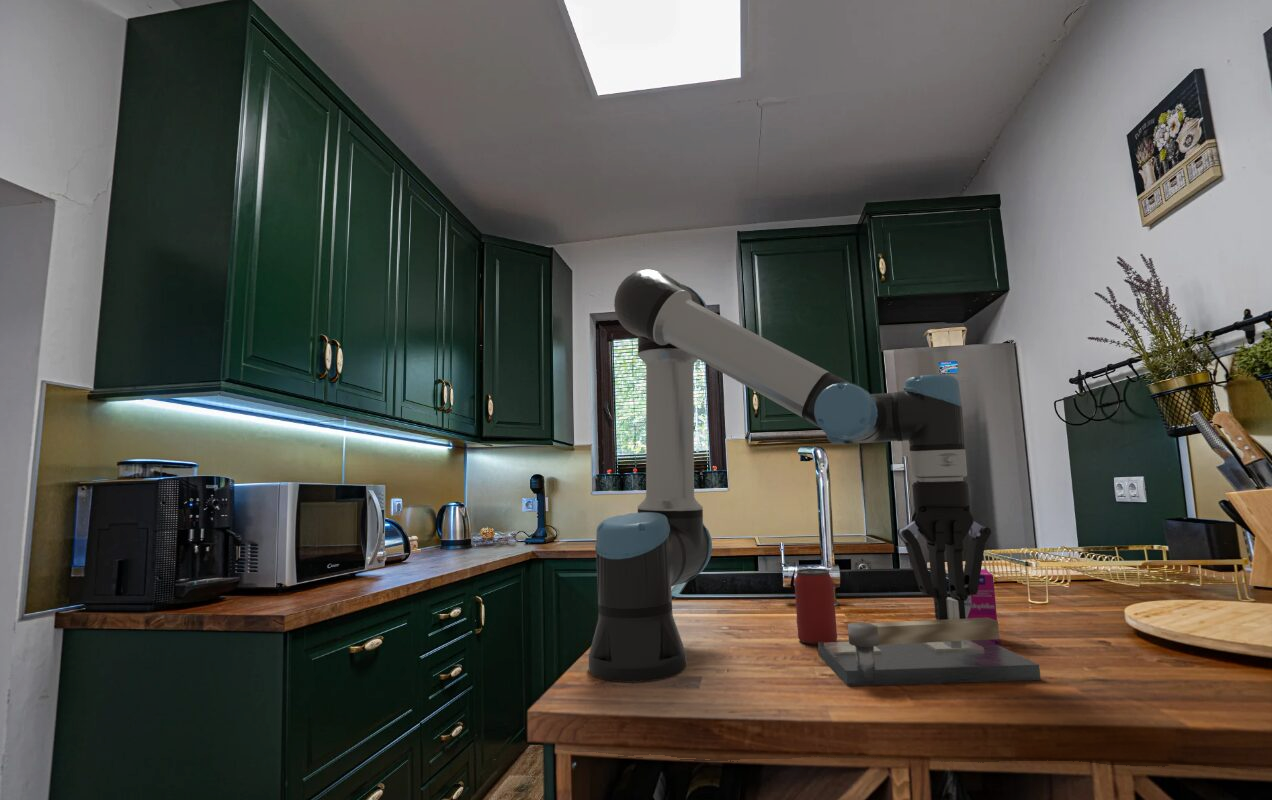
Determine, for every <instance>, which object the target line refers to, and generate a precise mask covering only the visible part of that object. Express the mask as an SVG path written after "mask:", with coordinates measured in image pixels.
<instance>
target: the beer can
mask: <svg viewBox="0 0 1272 800" xmlns="http://www.w3.org/2000/svg"><path fill="white" fill-rule="evenodd" d="M834 590H835V589H834V582H833V578H832V577H831V574H830V570H829V569H824V568H801V569H798V570H796V576H795V580H794V594H795V596H794V597H795V609H796V610H795V611H796V625H797V637H798V639H799V641H800V642H802V643H804V644H806V645H812V646H818V642H837V639H838V632H837V631H838V629H837V617H836V603H835V591H834Z"/></svg>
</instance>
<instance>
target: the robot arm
mask: <svg viewBox="0 0 1272 800" xmlns="http://www.w3.org/2000/svg"><path fill="white" fill-rule="evenodd" d="M613 302H614V303H613V307H614V312H615V315H616V318H617V320H618V322H619V323H620V325H621V326H622V327H623V328H624V329H625V330H626V331H628V333H630V334H632V335H634V336H636V337H637V357H638V358H639V359H640V360H642V362H643V363H644V364H645V372H646V373H645V377H646V378H645V394H646V395H645V401H646V402H645V404H646V405H645V408H646V409H645V419H646V420H645V425H646V426H645V429H646V431H645V437H646V438H645V444H646V445H645V446H646V447H645V454H646V455H645V458H646V459H645V489H646V490H645V493H646V494H645V498H644V499H643V500H642V502H640V504H639V505H637V512H633V513H626V514H624V515H623V514H621V515H615V516H611V517H608V518H606V519H604V520H602V521H601V522H600V523H599V524H598V526H597V528H596V534H595V535H596V541H595V544H594V545H595V547H594V549H595V552H596V553H595V555H596V576H597V577H596V579H597V582H596V583H597V602H598V603H597V604H598V618H597V619H598V620H597V623H596V627H595V632H594V634H593V637H592V640H591V641H592V643H591V645H590V649H589V653H588V672H589V673H590V675H592V676H594V677H596V678H599V679H603V680H607V681H614V682H615V681H616V682H648V681H655V680H661V679H665V678H669V677H670V678H671V677H673V676H676V675H678V674H680V673H682V672H683V671H685V669H686V668H687V657H686V656H687V655H686V649H685V647H684V643H683V642H682V638H681V635H680V632H679V630H678V627H677V624H676V621H675V618H674V614H673V594H672V588H673V587H674V586H677V585H683V584H685V583H687V582H690V581H691V580H694V579H695V578H696V577H697V576H699V574H701V573H702V572H703V571H704V569H705V568H706V567H707V565H708V563H709V562H710V559H711V557H712V552H713V543H712V542H713V541H712V536H711V534H710V531H709V529H708V528H707V527H706V526H705V524H704V514H703V513H704V512H703V511H704V509H703V507H704V506H703V505H701V504H700V503H699V501H698V500H696V497H695V435H694V433H695V428H694V425H695V423H694V421H695V419H694V407H695V406H694V365H695V363H696V362H697V361H698V360H700V361H701V362H702V363H704V364H707V365H708V366H710V367H711V368H713V369H715V370H716V371H719V372H720V373H721V374H725V375H726V376H728V377H729V378H731V379H733V380H734V381H736V382H738V383H740V384H742V385H744V386H745V387H748V389H751V390H753V391H755V392H756V393H758V394H760V395H762V396H764V397H765V398H767V399H769V400H770V401H773V402H774V403H776V404H778V405H779V406H780V407H783V408H785V409H786V410H788V411H790V412H792V413H793V414H795V415H797V416H799V417H801V418H802V419H805V420H806V421H807V422H809V423H811V424H813V426H816V427H818V428H820V429H821V430H822V432H823V433H825V436H826V437H827V440H828V441H829V442H830V443H831V444H834V445H835V444H836V445H839V444H840V445H841V444H843V445H850V446H851V445H855V444H869V443H871V444H873V443H886V442H887V443H888V442H903V441H908V444H909V458H910V474H911V475H910V476H911V477H912V478H913V479H915V480H916V481H914V482H913V484H912V485H911V488H912V498H913V500H912V501H913V509H914V512H913V515H912V516H911V522H910V523H909V524H908V525H906V526H905V527H903V528H902V527H899V528H898V529H897V530H896V531H897V532H896V534H897V535H898V537H899V538H900V539H901V541H902V543H903V544H904V545H905V548H906V549H905V550H906V552H907V555H908V558H909V561H910V563H911V564H910V565H911V568H912V571H913V573H914V577H915V579H916V583H917V586H918V589H919V591H920V593H922V594H925V595H927V596H929V597H932V598H933V602H934V605H933V606H934V616H935V620H946V619H966V616H965V604H964V601H966V600H967V599H968V596H970V595H975V594H977V592H978V586H979V580H980V573H981V569H982V566H983V560H984V559H983V558H984V552H985V546H986V543H987V541H988V539H989V538H990V536H991V535H992V529H991V528H990V527H988V526H983V525H982V524H979V523H978V522H976V521H975V518H974V515H973V514H972V512H971V510H970V507H971V506H970V505H971V500H970V489H969V483H968V482H967V481H966V480H964V478H965V477H966V478H967V476H968V468H967V458H966V457H967V456H966V454H967V453H966V447H965V445H966V444H965V431H964V415H963V406H962V405H963V404H962V400H961V392H960V383H959V381H958V379H957V378H956V377H955V376H954V375H951V374H944V373H941V374H937V373H936V374H925V375H919V376H912V377H909V378H907V379H906V380H905V382H904V386H903V387H904V388H903V390H900V391H897V392H895V391H894V392H883V393H872V394H871V393H870V392H869V391H868V390H866V389H865V388H863V387H861V386H859V385H857V384H856V383H851V382H849V381H848V380H846V379H844V378H842V377H840V376H837V375H835V374H833V373H831V372H830V371H828V370H826V369H824V368H823V367H820V366H819V365H816V363H813V362H811V361H809V360H808V359H805V358H803V357H801V356H800V355H798V354H795V353H794V352H792V351H790V350H788V349H786V348H784V347H782V346H780V345H778V344H776V343H774V342H773V341H771V340H768V339H766V338H764V337H763V336H760V335H758V334H756V332H755V333H754V332H753V331H751V330H749V329H748V328H746V327H743V326H741V325H739V324H737V323H735V322H733V321H732V320H730V319H728V318H725V317H724V316H722V315H720V314H718V313H716V312H714V311H712V310H710V309H709V308H708V305H707V304H706V302H705V300H704V299H703V298H702V296H700V294H699V293H698V292H696V291H695V290H694V289H692V288H691V287H689V286H687V285H685V284H683V283H680V282H679V281H677V280H675V279H674V278H672V277H671V276H669V275H667V274H666V273H664V272H661V271H659V270H654V269H642V270H637V271H635V272H632V273H631V274H629V275H628V276H626V277H625V278H624V279H623V280H622V281H621V282H620V284H619V285H618V288H617V290H616V292H615V296H614V301H613ZM918 532H919V533H920V535H921V536H922V537H923V539H924V540H925V541H926V547H927V550H928V559H929V570H930V573H929V570H928V567H927V563H926V560H925V557H924V554H923V550H922V548H921V545H920V543H919V541H918V538H919V533H918ZM967 534H968V535H969V539H968V544H967V551H966V556H965V563H964V562H963V561H964V559H963V550H964V543H963V541H964V539H965V538H966V535H967ZM945 554H946V557H945ZM945 559H946V561H945ZM946 565H947V567H946ZM946 568H947V571H946ZM963 569H964V572H963ZM946 572H947V573H946ZM947 577H948V578H947ZM947 579H948V582H947ZM947 583H948V585H947ZM948 591H949V595H950V597H949V596H948ZM944 644H945V645H947V646H949V647H951V648H962V643H961V641H949V642H944Z"/></svg>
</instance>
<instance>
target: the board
mask: <svg viewBox="0 0 1272 800" xmlns="http://www.w3.org/2000/svg"><path fill="white" fill-rule="evenodd" d="M961 643H962V648H951V647H949V646H947V645H945V644H944V642H928V643H908V644H888V645H878V646H874V659H875V670H873V674H874V686H891V685H892V686H895V685H897V686H898V685H925V684H927V685H929V684H953V683H954V684H958V683H961V684H962V683H989V682H994V681H996V682H1021V681H1022V682H1023V681H1024V682H1025V681H1028V682H1029V681H1041V680H1042V679H1041V671H1040V664H1038V663H1036V662H1034V661H1032V660H1031V659H1028V658H1026V657H1024V656H1021V655H1020V654H1018V653H1016V652H1014V651H1011V650H1010V649H1007V648H1005V647H1003V646H1001V645H997V644H995V643H993V642H991V641H989V640H969V641H961ZM817 648H818V649H817V650H818V656H819V657H820V658H821V659H822V661H824V662H825V664H826V665H828V667H829V668H830V669H831V670H832V671H833V673H835V674H836V676H838V678H839V679H840V680H841V681H842V682H843V683H844V684H845V686H847V687H859V686H861V687H863V686H865V683H864V670H860V669H857V662H856V649H855V646H853V645H851V644H849V640H847V641H841V640H840V641H835V642H818V645H817ZM865 687H866V686H865Z"/></svg>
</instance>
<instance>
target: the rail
mask: <svg viewBox="0 0 1272 800" xmlns="http://www.w3.org/2000/svg"><path fill="white" fill-rule="evenodd" d="M999 628H1000V627H999V621H998V620H997V621H996V620H994V619H991V618H967V619H946V620H936V619H929V620H928V619H927V620H911V621H908V620H907V621H890V622H888V621H887V622H860V621H859V622H851V623H848V624H847V632H848V633H847V634H848V635H847V636H848V641H849V644H851V645H853V646H859V647H874V646H878V645H888V644H908V643H928V642H949V641H969V640H990V639H999V640H1000V631H999V630H1000V629H999Z"/></svg>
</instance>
